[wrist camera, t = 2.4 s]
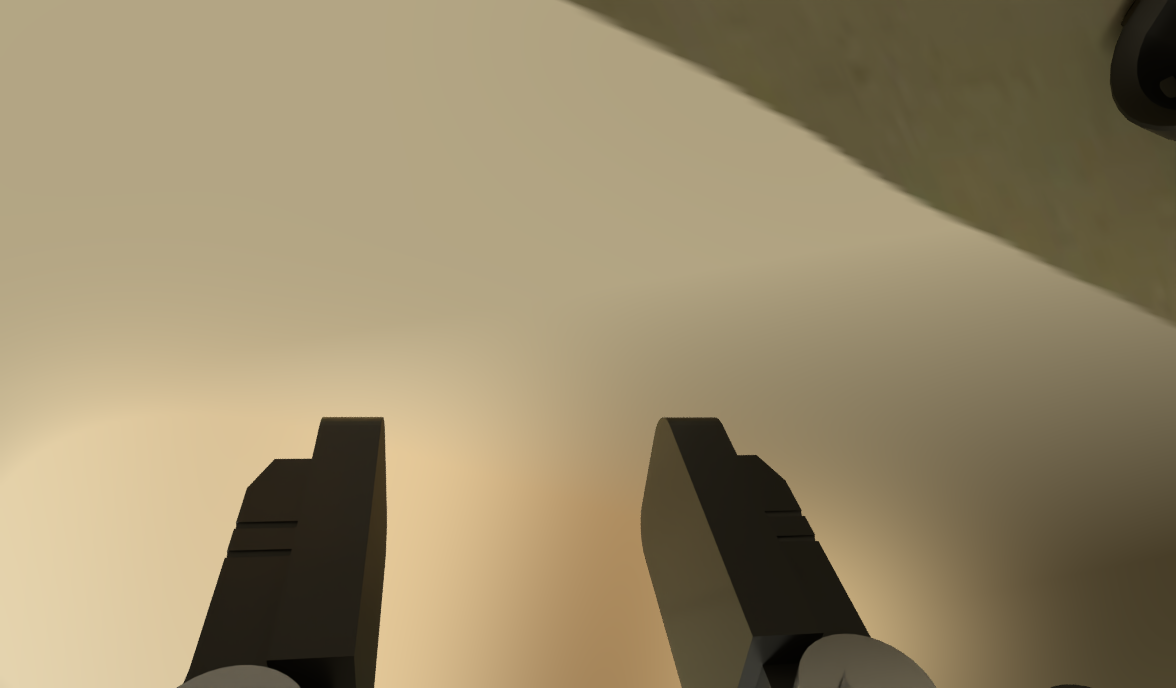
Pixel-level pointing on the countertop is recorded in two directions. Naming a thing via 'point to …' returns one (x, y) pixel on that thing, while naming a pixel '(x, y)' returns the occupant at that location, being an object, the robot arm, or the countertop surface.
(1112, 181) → the countertop surface
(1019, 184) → the countertop surface
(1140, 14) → the muzzle brake
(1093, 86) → the countertop surface
